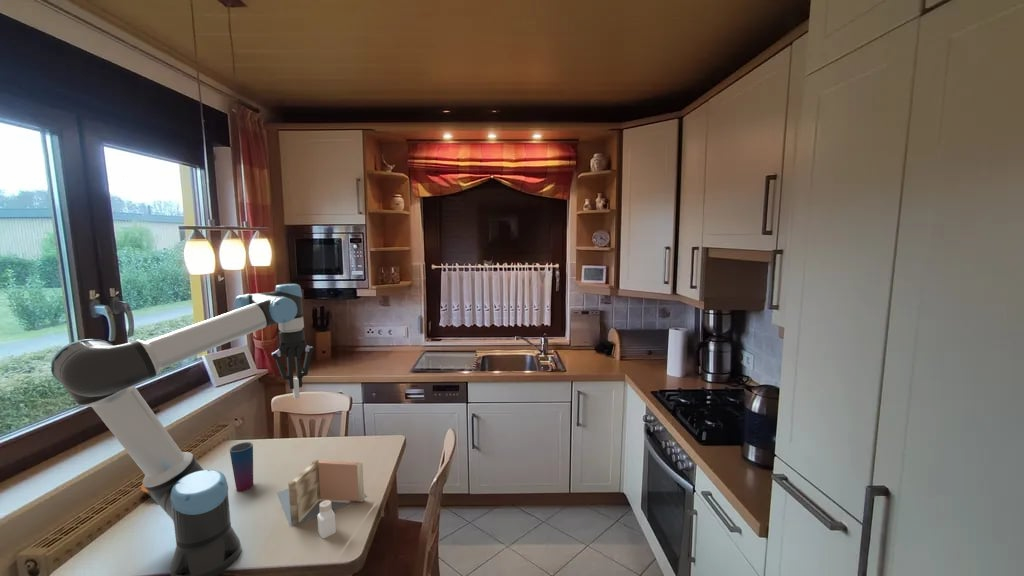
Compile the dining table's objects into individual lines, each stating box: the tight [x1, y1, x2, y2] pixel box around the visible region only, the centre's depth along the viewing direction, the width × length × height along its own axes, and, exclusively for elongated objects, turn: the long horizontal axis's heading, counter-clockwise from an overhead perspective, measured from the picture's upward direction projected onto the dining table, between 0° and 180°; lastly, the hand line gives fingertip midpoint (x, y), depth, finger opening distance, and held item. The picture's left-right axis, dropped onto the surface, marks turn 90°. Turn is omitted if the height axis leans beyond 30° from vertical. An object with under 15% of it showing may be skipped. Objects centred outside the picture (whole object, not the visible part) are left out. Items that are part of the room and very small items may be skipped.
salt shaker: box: [316, 500, 337, 539], centre depth 120 cm, size 4×4×10 cm
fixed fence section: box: [287, 459, 320, 526], centre depth 129 cm, size 14×2×13 cm, turn 174°
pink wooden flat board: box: [318, 459, 365, 503], centre depth 134 cm, size 15×2×13 cm, turn 83°
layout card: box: [276, 488, 367, 528], centre depth 138 cm, size 23×22×1 cm
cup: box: [229, 441, 254, 492], centre depth 142 cm, size 7×7×15 cm
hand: (296, 397), depth 140 cm, fingers closed
